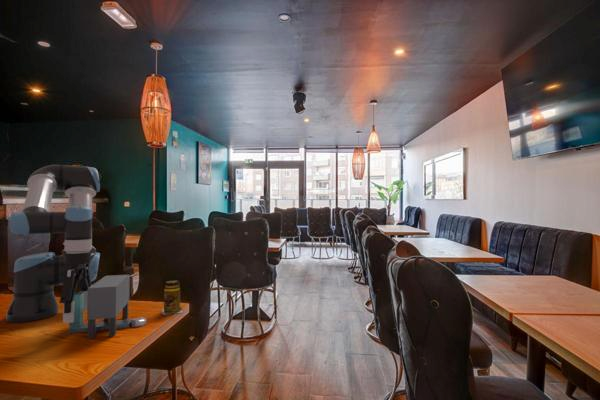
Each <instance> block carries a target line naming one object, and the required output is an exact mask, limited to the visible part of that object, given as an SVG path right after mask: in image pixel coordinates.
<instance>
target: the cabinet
mask: <svg viewBox="0 0 600 400" xmlns="http://www.w3.org/2000/svg"><path fill="white" fill-rule="evenodd" d="M130 276H131V275H130V274H117V275H116V274H114V275H105V276H104V277H102V278H101V279H99V280H97V282H94V283H93V284H91V285H92V286H90V287H89V288H88V302H87V310H86V314H87V315H86V320H87V323H88V332H87V339H89V340H90V339H94V338H95V337H96V331H95V322H97V320H102V319H103V321H109V330H108V337H115V336H116V335H117V329H116V320H117V317H118V316H119V314H120V313H121V311H122V314H121V315H122V318H121V320H124V319H129V302H130V289H131V288H130V285H131V284H130V283H131V281H130V280H131V279H130V278H131V277H130Z"/></svg>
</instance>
